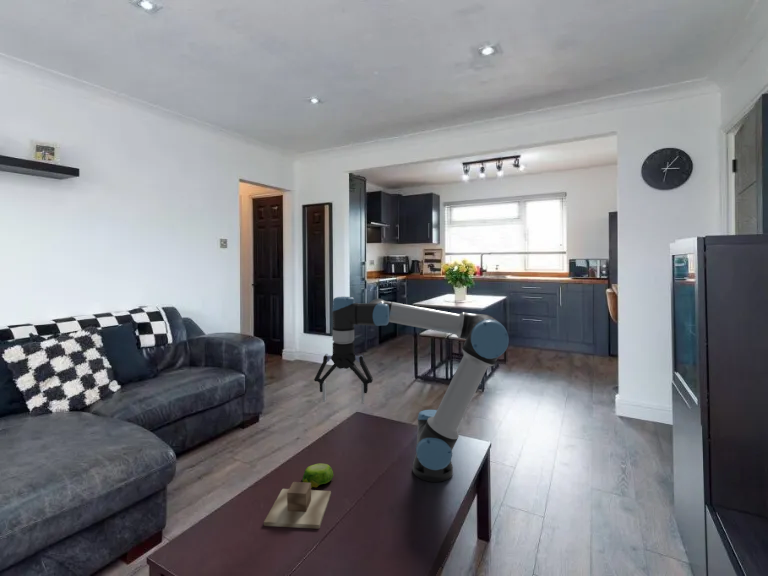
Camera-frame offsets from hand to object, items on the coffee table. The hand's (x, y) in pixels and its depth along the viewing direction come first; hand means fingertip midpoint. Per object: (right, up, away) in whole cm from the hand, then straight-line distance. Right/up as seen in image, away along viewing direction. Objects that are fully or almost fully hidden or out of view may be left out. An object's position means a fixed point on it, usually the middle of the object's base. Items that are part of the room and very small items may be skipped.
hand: (343, 401), depth 136 cm
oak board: (-13, -32, -11) cm, 36 cm away
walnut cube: (-13, -30, -11) cm, 35 cm away
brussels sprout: (-10, -31, +6) cm, 33 cm away
